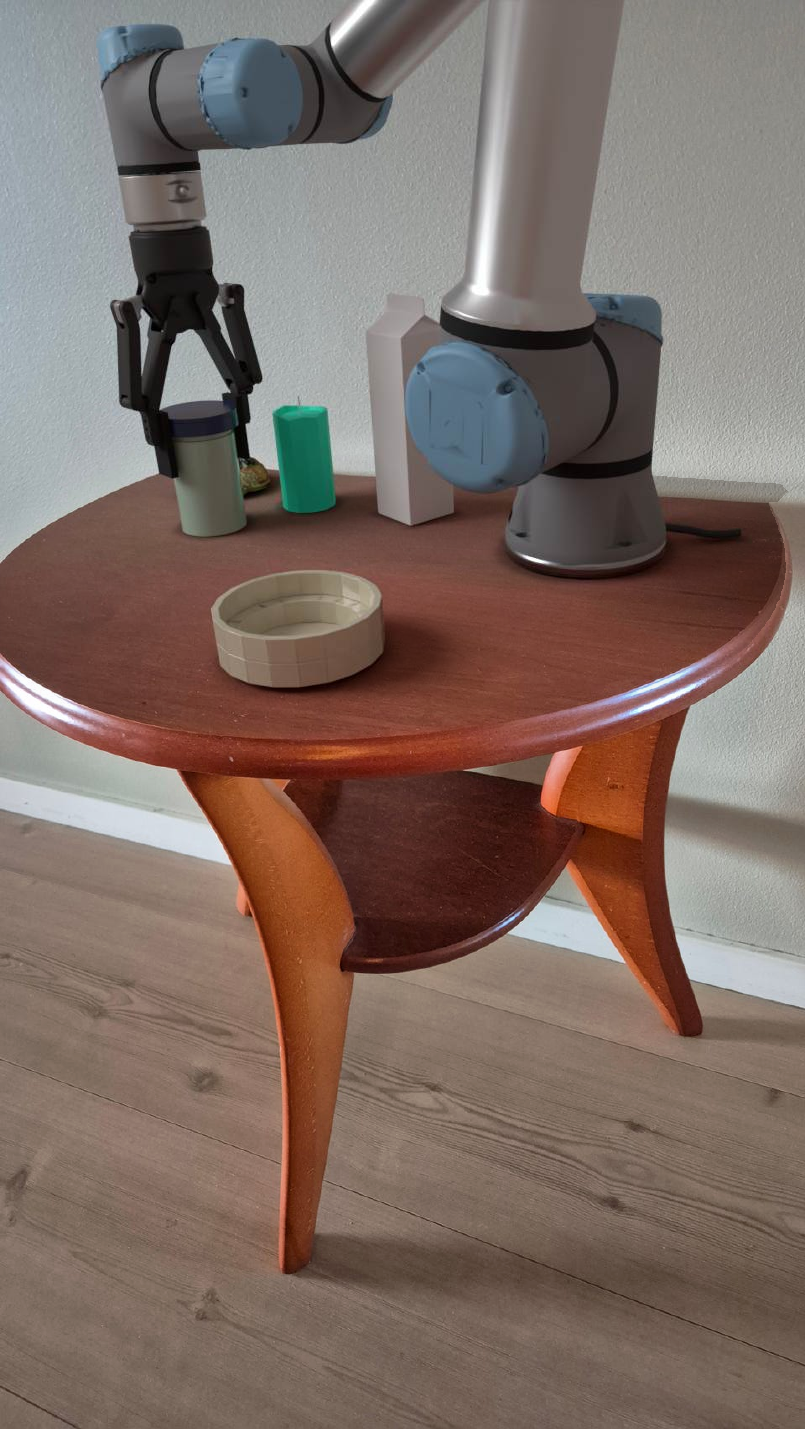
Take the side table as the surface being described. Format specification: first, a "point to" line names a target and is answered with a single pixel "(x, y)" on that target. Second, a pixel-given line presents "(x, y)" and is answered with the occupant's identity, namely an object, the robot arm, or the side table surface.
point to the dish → (299, 628)
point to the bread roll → (252, 475)
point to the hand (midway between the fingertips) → (205, 465)
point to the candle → (304, 458)
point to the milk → (402, 414)
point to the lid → (201, 418)
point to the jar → (209, 485)
